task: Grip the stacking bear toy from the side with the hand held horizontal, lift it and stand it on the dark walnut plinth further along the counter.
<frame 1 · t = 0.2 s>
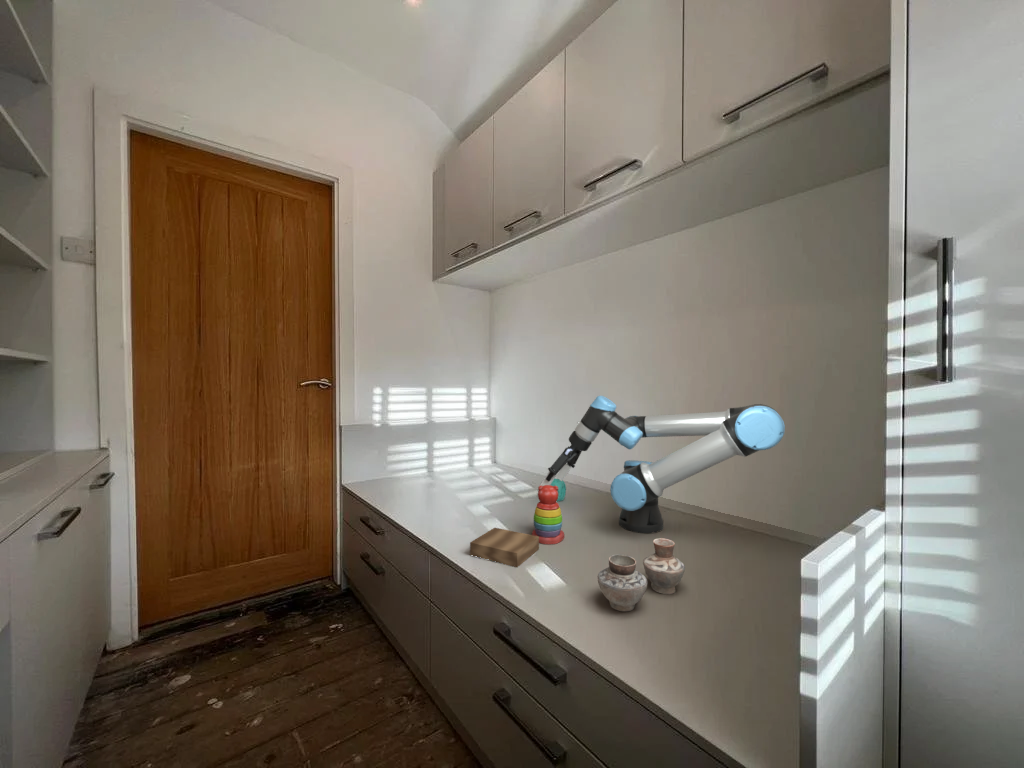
hand: (551, 482, 153), 15 cm above the worktop, tool tilted 35°, fingers open, 13 cm apart
pottery: (642, 597, 103), on the worktop
plinth: (505, 552, 128), on the worktop
stacking bear: (548, 539, 139), on the worktop
decorative dice: (554, 499, 183), on the worktop
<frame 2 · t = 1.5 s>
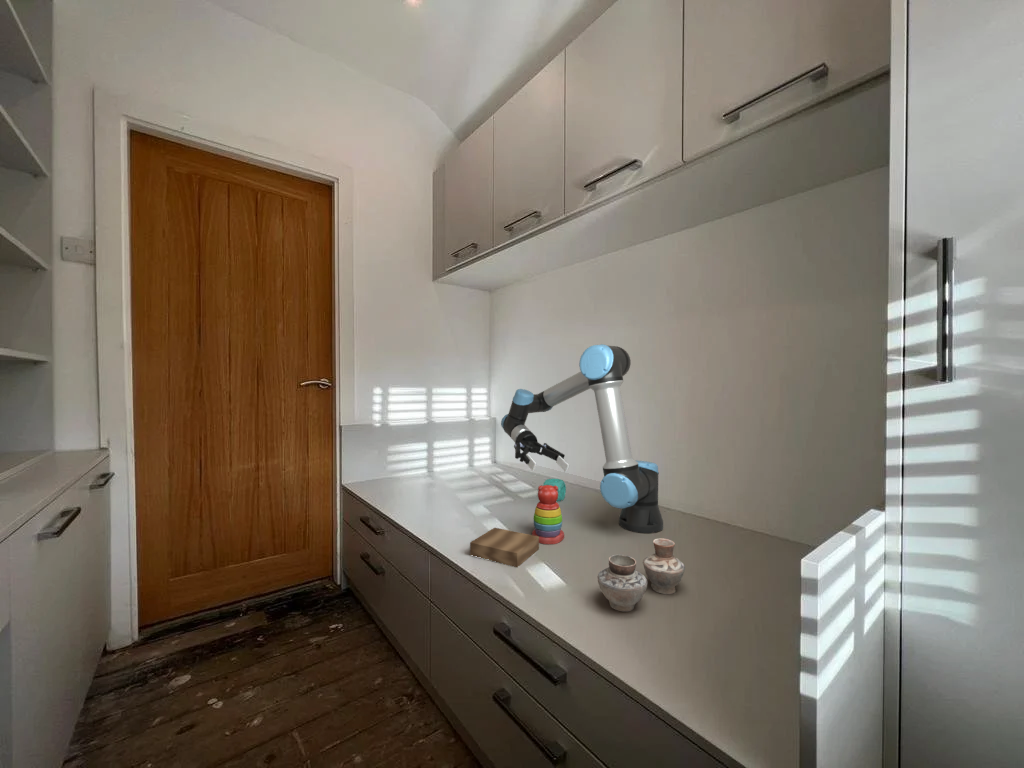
hand: (551, 468, 144), 22 cm above the worktop, tool tilted 70°, fingers open, 13 cm apart
nothing on the worktop moved.
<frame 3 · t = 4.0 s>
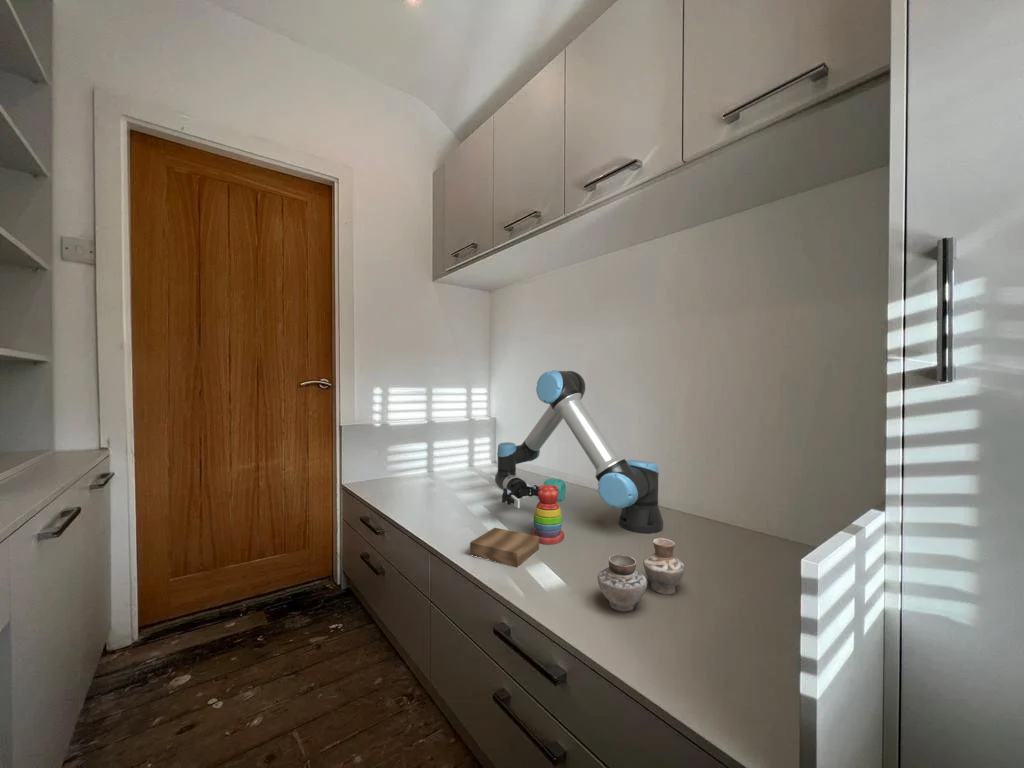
hand: (537, 502, 146), 10 cm above the worktop, tool horizontal, fingers open, 13 cm apart
nothing on the worktop moved.
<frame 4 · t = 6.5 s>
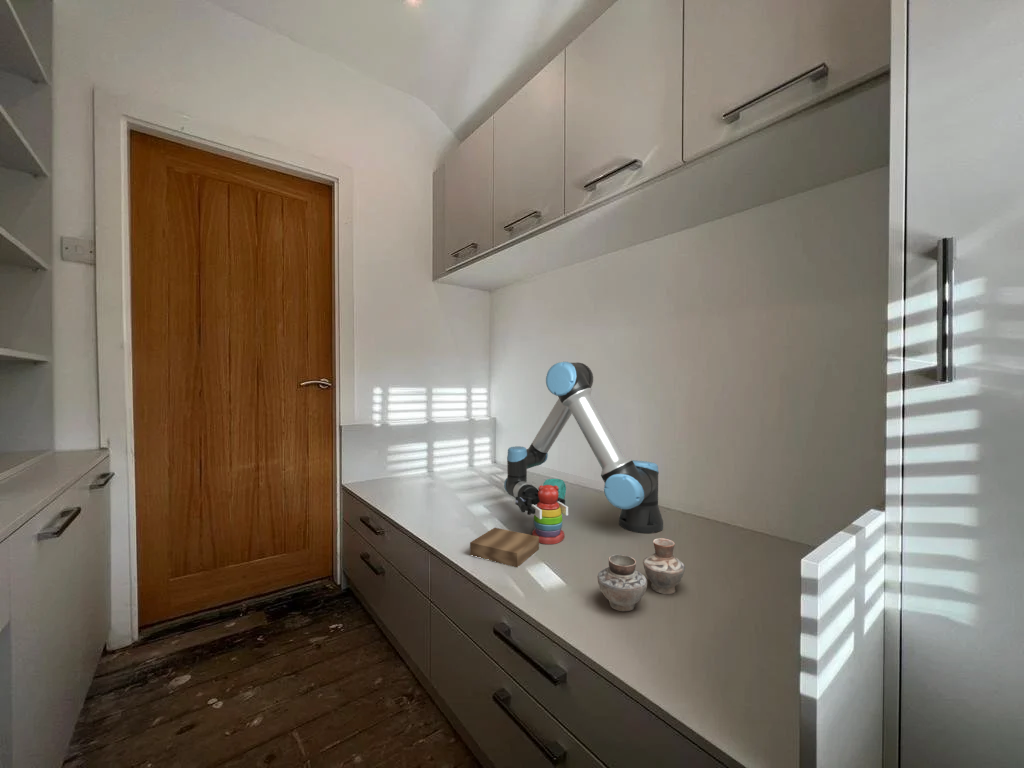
hand: (554, 512, 134), 10 cm above the worktop, tool horizontal, fingers closed on stacking bear, 9 cm apart
stacking bear: (548, 539, 139), on the worktop, touching gripper
everything else where it was.
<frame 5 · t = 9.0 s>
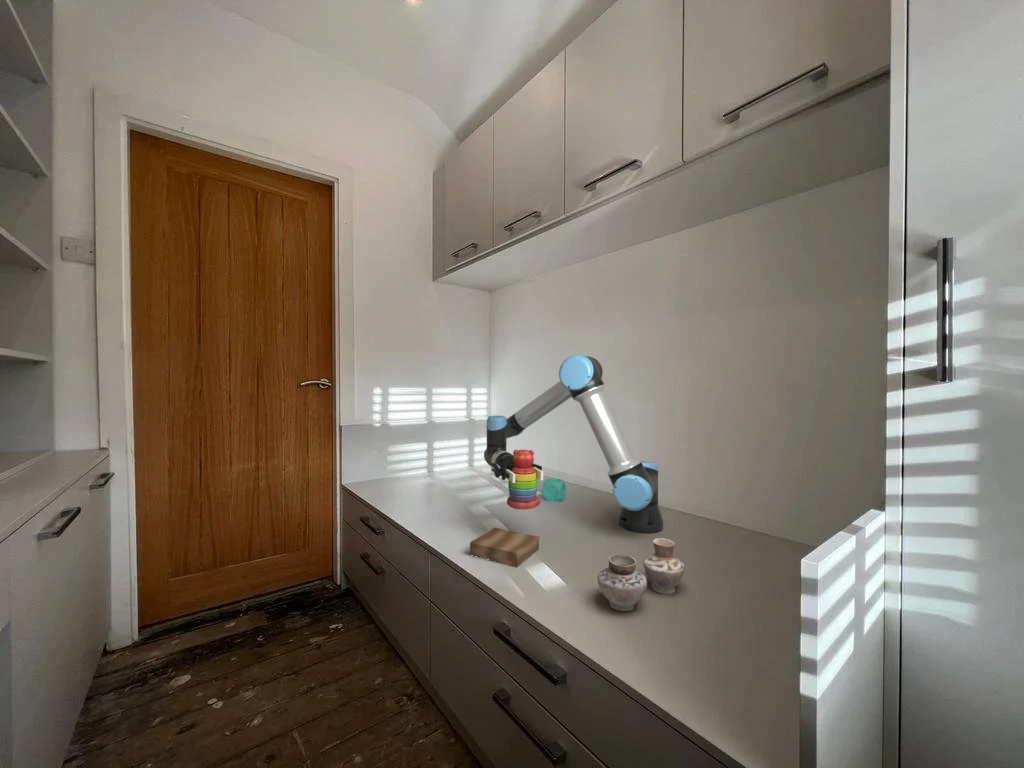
hand: (528, 477, 130), 23 cm above the worktop, tool horizontal, fingers closed on stacking bear, 9 cm apart
stacking bear: (523, 505, 135), point 12 cm above the worktop, touching gripper
everything else where it was.
when the fingers open (16 cm above the worktop, at t = 11.5 s): stacking bear drops 2 cm, resting on plinth.
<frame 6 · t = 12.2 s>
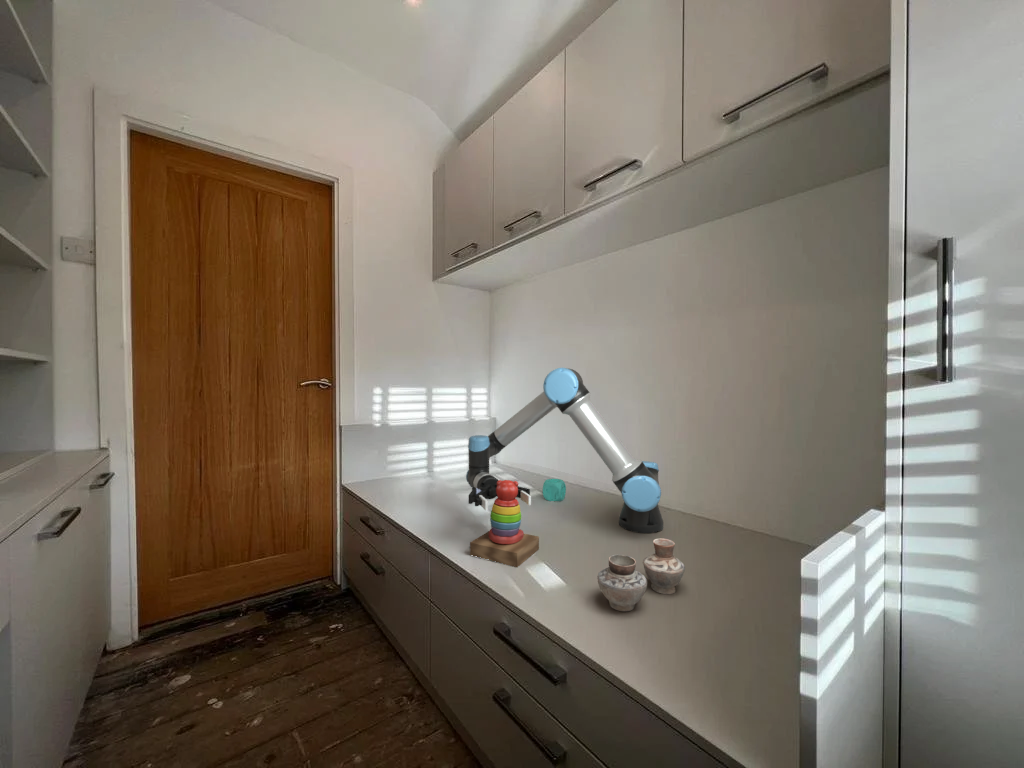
hand: (508, 503, 125), 16 cm above the worktop, tool horizontal, fingers open, 13 cm apart
stacking bear: (505, 539, 128), point 4 cm above the worktop, touching plinth
everything else where it was.
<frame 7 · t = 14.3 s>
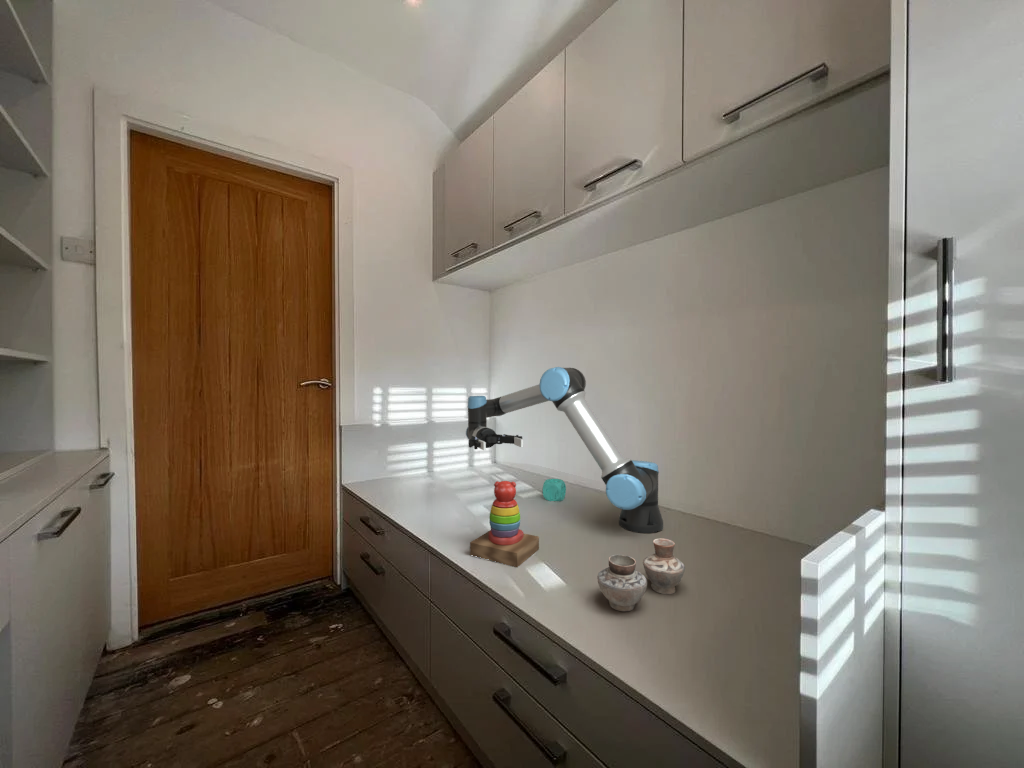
hand: (503, 444, 144), 30 cm above the worktop, tool horizontal, fingers open, 13 cm apart
nothing on the worktop moved.
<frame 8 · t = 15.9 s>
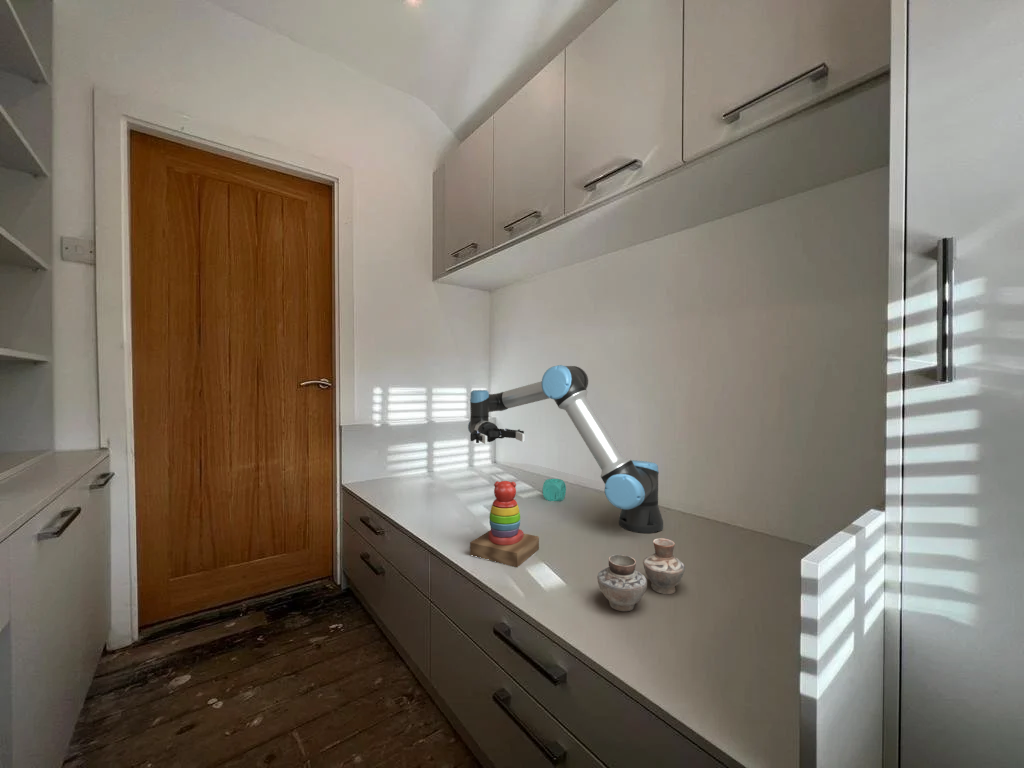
hand: (505, 438, 145), 32 cm above the worktop, tool horizontal, fingers open, 13 cm apart
nothing on the worktop moved.
at the end: stacking bear inside the target area on the plinth (0.1 cm from its centre), point 3.8 cm above the plinth's base; stacking bear tilted 0°; the gripper is holding nothing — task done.
